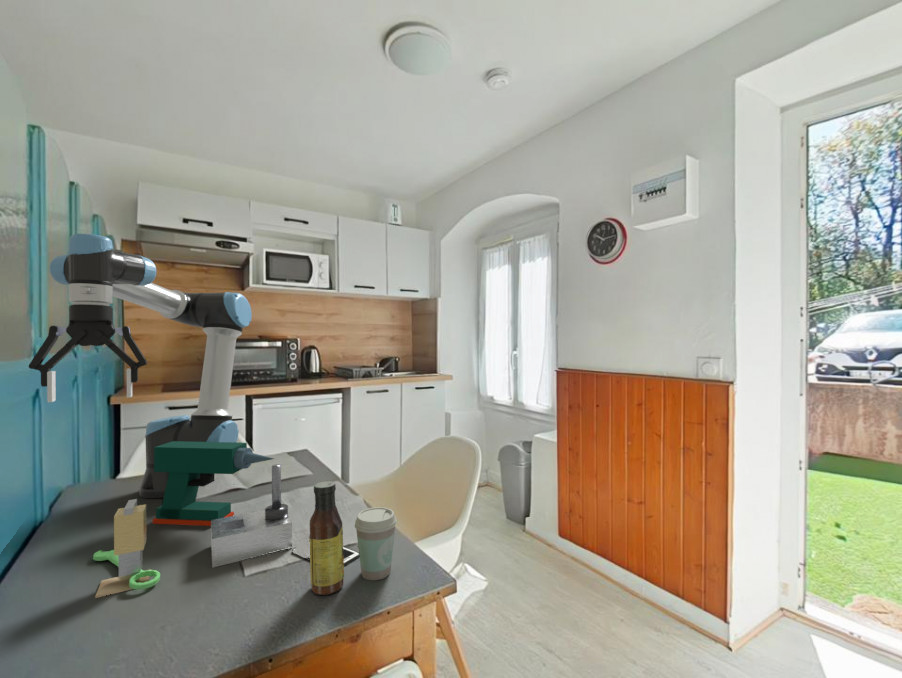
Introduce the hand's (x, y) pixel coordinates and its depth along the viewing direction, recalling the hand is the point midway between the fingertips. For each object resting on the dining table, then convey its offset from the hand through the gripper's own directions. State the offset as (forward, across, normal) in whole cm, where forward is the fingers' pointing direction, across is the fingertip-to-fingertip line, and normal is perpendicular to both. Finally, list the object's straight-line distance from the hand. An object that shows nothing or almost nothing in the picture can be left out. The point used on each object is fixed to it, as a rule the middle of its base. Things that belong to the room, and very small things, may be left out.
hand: (91, 399), depth 96 cm
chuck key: (+33, +9, -18) cm, 38 cm away
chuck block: (+35, +31, -15) cm, 49 cm away
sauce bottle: (+35, +42, -40) cm, 68 cm away
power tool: (+35, +25, +6) cm, 43 cm away
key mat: (+35, +8, -18) cm, 40 cm away
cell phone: (+35, +45, -27) cm, 63 cm away
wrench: (+35, +7, -12) cm, 38 cm away
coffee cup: (+35, +52, -40) cm, 74 cm away
